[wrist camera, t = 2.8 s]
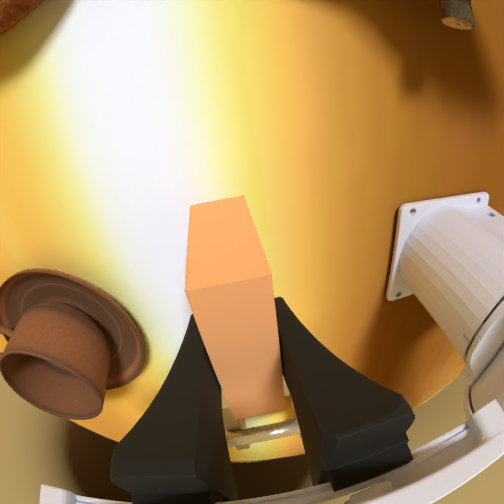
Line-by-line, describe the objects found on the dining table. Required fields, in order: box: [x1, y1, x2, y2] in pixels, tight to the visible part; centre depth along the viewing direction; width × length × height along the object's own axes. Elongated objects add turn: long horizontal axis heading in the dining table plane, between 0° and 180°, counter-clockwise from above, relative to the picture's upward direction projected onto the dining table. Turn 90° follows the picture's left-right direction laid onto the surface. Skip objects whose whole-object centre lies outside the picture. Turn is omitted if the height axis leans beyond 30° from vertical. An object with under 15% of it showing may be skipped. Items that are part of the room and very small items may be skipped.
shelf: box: [221, 377, 301, 450], centre depth 23 cm, size 7×12×5 cm, turn 8°
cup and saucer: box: [0, 268, 145, 420], centre depth 16 cm, size 12×12×6 cm
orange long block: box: [185, 195, 286, 419], centre depth 13 cm, size 2×8×6 cm, turn 8°
